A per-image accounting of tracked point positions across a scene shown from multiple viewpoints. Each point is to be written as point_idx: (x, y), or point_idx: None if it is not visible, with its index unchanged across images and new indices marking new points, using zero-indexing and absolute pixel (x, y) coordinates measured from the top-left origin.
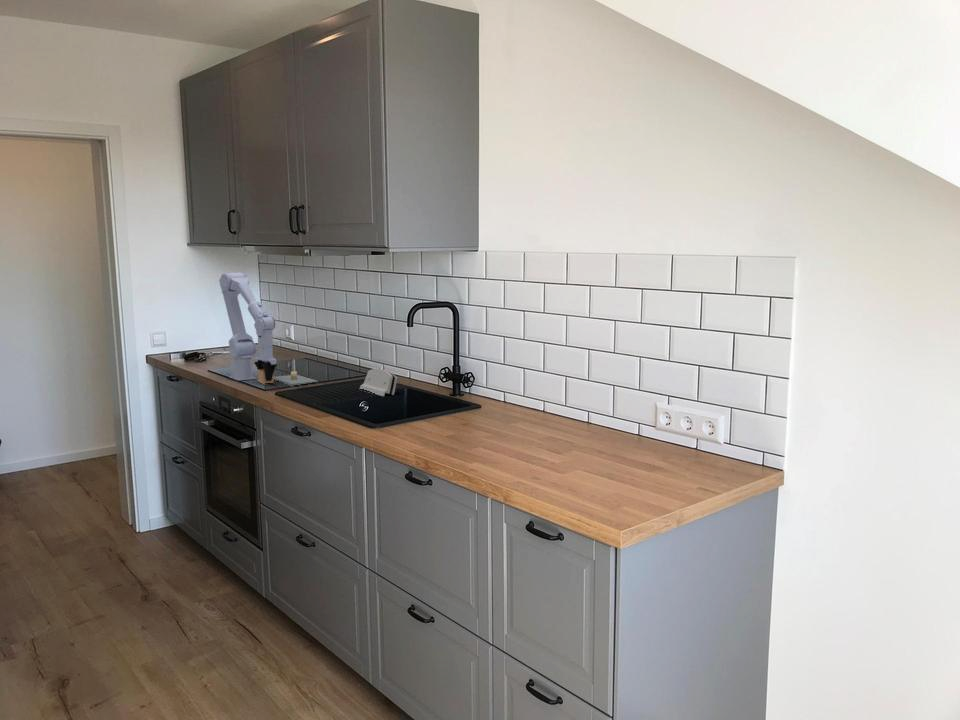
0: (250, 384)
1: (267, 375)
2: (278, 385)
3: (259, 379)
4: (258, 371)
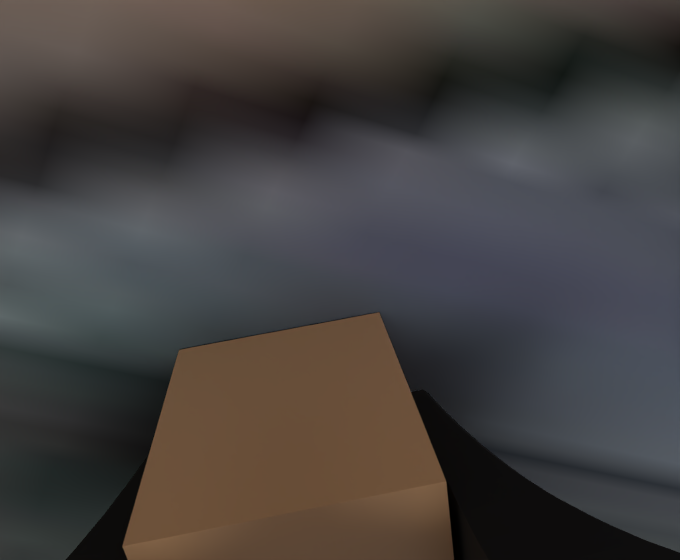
0: (286, 151)
1: None
2: (28, 525)
3: (329, 358)
4: (393, 454)
